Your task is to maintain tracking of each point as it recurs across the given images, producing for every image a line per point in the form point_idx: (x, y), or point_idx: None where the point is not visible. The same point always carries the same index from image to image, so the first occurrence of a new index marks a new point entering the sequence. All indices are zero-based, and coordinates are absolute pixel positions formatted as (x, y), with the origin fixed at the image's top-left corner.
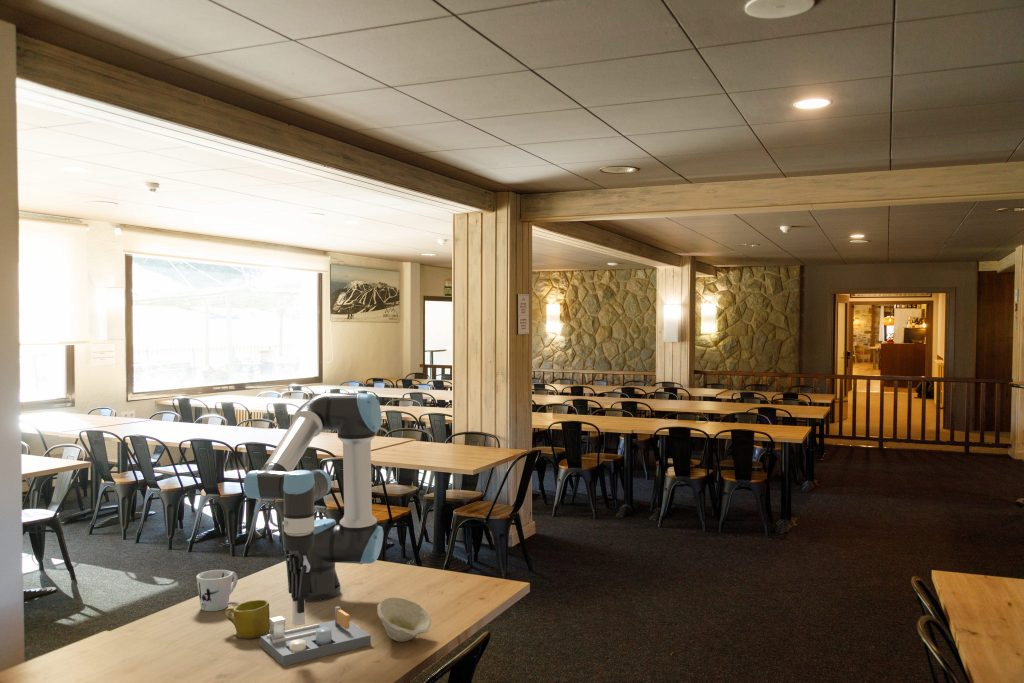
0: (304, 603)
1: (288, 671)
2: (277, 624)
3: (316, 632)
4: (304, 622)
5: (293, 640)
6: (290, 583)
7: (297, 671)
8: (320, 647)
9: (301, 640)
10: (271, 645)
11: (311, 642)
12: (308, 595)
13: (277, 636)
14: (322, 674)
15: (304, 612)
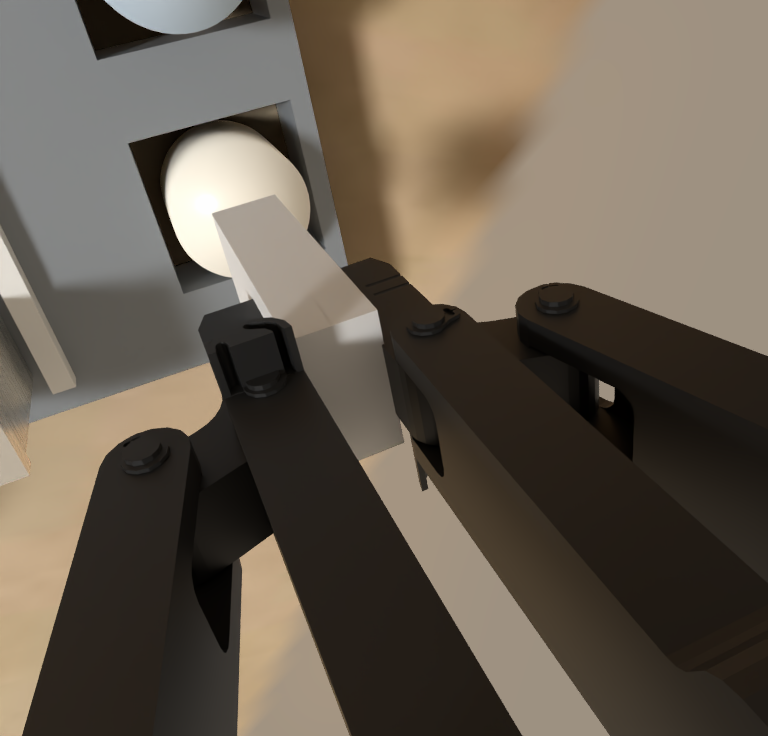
0: (350, 286)
1: (429, 255)
2: (9, 424)
3: (196, 30)
4: (279, 203)
5: (187, 245)
6: (233, 678)
7: (452, 202)
8: (288, 3)
9: (207, 177)
10: (121, 388)
11: (146, 65)
12: (609, 308)
13: (17, 366)
14: (566, 52)
15: (314, 241)
